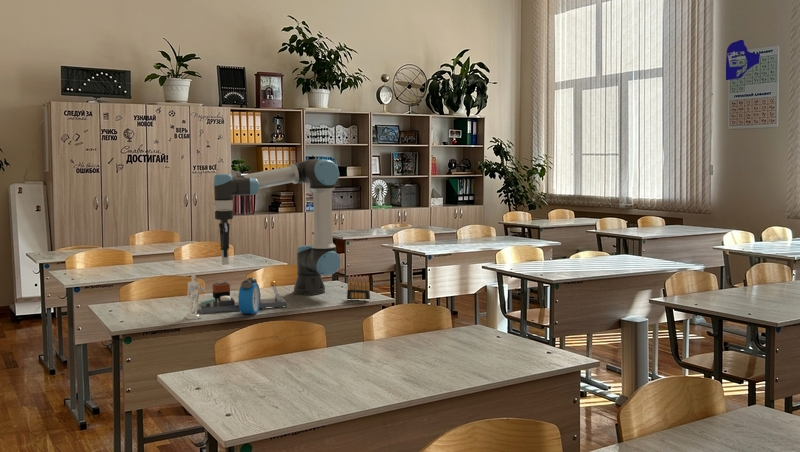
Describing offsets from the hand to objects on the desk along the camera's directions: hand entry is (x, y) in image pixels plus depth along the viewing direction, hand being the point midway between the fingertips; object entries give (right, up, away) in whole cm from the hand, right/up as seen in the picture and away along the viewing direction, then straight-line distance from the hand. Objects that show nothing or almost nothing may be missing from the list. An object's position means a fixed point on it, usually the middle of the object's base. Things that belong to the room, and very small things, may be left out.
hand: (225, 264), depth 318 cm
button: (0, -17, +2) cm, 17 cm away
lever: (+21, -16, +10) cm, 29 cm away
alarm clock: (+12, -21, -6) cm, 25 cm away
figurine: (-9, -22, -13) cm, 27 cm away
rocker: (-7, -16, -1) cm, 17 cm away
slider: (+13, -17, +9) cm, 23 cm away
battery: (-5, -19, +14) cm, 24 cm away
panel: (+7, -19, +5) cm, 21 cm away
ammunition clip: (+56, -18, +22) cm, 63 cm away
